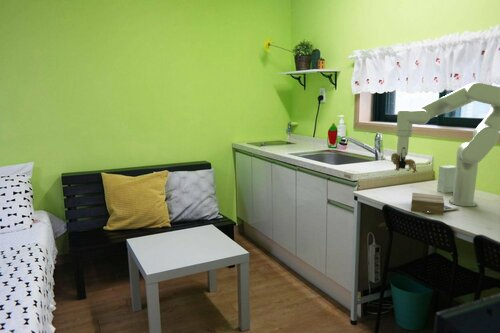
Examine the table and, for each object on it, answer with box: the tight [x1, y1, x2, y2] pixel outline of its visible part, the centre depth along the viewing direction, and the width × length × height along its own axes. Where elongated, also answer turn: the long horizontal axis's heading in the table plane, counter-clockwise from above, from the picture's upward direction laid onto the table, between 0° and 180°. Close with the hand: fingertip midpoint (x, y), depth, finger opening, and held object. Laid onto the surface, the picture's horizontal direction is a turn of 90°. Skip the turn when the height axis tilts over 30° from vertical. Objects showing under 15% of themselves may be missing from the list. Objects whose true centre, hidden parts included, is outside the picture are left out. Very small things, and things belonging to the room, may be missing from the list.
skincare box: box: [436, 164, 456, 194], centre depth 221 cm, size 8×6×15 cm
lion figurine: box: [390, 152, 418, 173], centre depth 206 cm, size 15×5×9 cm, turn 84°
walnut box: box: [410, 192, 445, 216], centre depth 190 cm, size 14×14×6 cm
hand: (401, 167), depth 206 cm, fingers closed on lion figurine, 4 cm apart
